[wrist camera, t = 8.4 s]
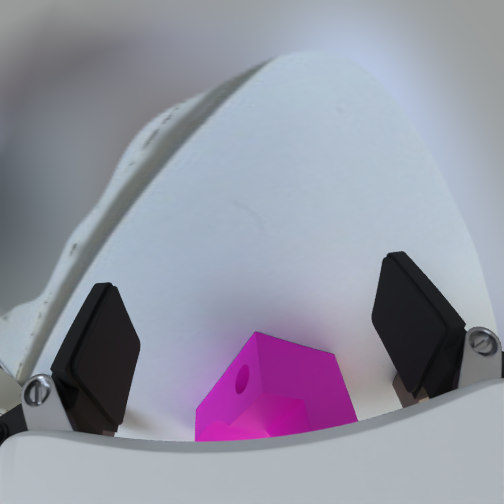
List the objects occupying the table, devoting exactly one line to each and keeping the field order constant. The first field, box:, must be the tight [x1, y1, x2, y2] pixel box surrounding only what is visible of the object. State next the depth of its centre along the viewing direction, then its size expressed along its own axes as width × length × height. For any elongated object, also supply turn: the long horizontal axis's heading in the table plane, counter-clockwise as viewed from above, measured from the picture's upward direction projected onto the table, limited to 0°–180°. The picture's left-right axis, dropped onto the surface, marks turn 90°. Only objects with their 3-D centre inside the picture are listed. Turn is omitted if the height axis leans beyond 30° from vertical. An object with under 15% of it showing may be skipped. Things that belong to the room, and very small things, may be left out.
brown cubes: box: [102, 373, 429, 437], centre depth 19 cm, size 3×31×4 cm, turn 95°
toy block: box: [195, 331, 358, 442], centre depth 18 cm, size 15×6×8 cm, turn 152°
